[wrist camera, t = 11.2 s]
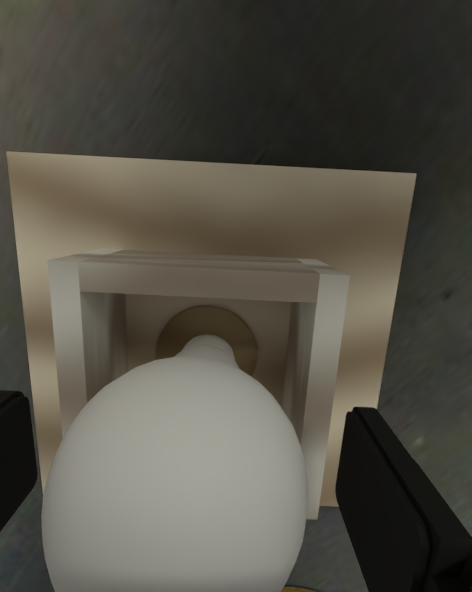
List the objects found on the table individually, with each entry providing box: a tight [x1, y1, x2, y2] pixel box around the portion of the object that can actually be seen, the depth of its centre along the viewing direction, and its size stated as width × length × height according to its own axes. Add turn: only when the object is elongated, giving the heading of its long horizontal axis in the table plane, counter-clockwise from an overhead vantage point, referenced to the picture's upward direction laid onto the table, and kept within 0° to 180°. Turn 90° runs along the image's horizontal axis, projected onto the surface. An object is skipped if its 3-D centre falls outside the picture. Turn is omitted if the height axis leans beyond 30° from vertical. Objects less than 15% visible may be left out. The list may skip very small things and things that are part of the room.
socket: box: [6, 151, 417, 520], centre depth 15 cm, size 18×18×6 cm
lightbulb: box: [41, 334, 308, 592], centre depth 10 cm, size 6×6×11 cm
